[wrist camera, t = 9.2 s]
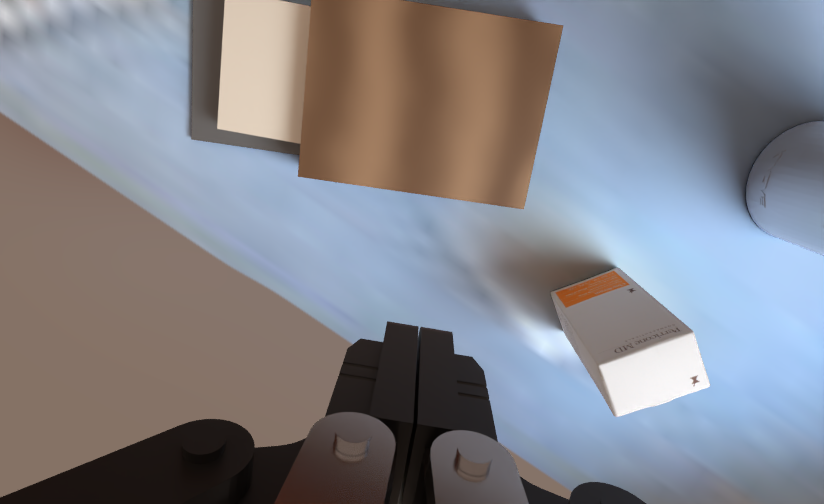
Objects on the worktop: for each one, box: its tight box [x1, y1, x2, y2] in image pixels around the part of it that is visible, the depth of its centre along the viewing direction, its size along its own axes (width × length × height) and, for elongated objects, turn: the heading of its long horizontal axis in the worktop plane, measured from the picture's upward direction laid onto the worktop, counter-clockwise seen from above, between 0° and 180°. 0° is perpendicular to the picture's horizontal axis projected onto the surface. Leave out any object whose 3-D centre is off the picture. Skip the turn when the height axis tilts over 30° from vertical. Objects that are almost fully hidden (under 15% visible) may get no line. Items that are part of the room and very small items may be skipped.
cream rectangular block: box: [217, 0, 311, 144], centre depth 34 cm, size 6×9×2 cm, turn 170°
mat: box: [191, 0, 300, 155], centre depth 36 cm, size 8×10×1 cm
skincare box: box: [550, 268, 710, 417], centre depth 35 cm, size 6×4×12 cm
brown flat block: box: [298, 0, 563, 209], centre depth 34 cm, size 16×12×4 cm
